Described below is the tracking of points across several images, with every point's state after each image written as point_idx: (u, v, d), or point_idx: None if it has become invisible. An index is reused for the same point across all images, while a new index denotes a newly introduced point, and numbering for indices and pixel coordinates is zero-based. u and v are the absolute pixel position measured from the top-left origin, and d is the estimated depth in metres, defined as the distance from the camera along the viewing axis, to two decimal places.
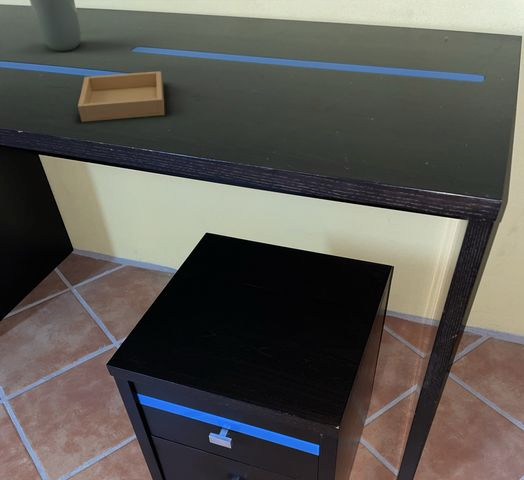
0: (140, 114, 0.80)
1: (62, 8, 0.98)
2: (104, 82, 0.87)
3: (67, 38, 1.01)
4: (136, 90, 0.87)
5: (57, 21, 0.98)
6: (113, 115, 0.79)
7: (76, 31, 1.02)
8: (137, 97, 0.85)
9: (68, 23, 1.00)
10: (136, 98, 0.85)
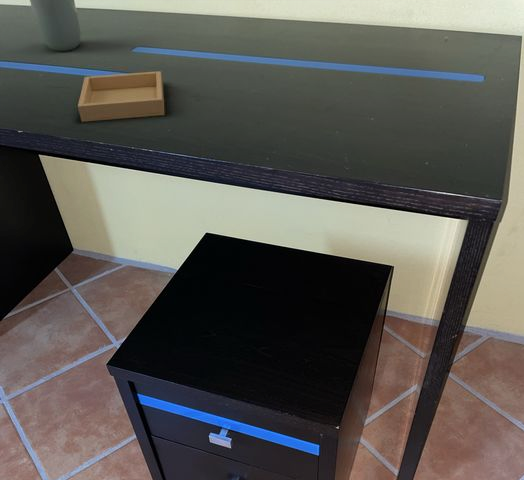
0: (140, 114, 0.80)
1: (62, 8, 0.98)
2: (104, 82, 0.87)
3: (67, 38, 1.01)
4: (136, 90, 0.87)
5: (57, 21, 0.98)
6: (113, 115, 0.79)
7: (76, 31, 1.02)
8: (137, 97, 0.85)
9: (68, 23, 1.00)
10: (136, 98, 0.85)
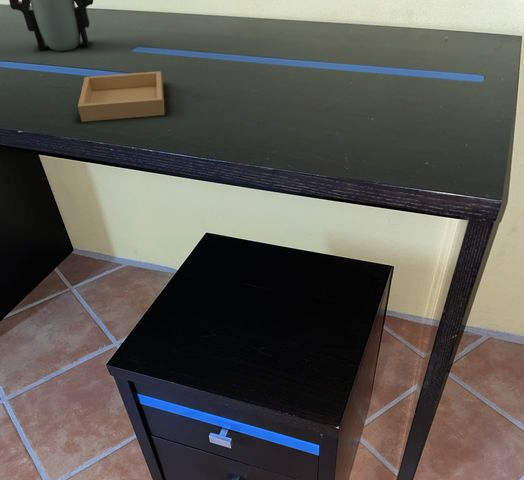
0: (140, 114, 0.80)
1: (62, 8, 0.98)
2: (104, 82, 0.87)
3: (67, 37, 1.01)
4: (136, 90, 0.87)
5: (57, 21, 0.98)
6: (113, 115, 0.79)
7: (76, 31, 1.02)
8: (137, 97, 0.85)
9: (68, 23, 1.00)
10: (136, 98, 0.85)
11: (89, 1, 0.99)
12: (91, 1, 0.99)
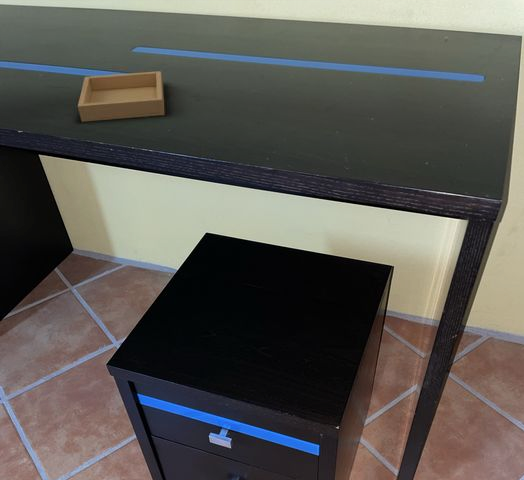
0: (140, 114, 0.80)
1: None
2: (104, 82, 0.87)
3: None
4: (136, 90, 0.87)
5: None
6: (113, 115, 0.79)
7: None
8: (137, 97, 0.85)
9: None
10: (136, 98, 0.85)
11: None
12: None
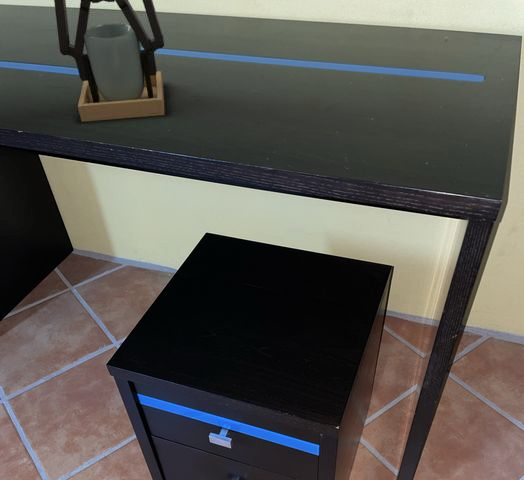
0: (140, 114, 0.80)
1: (126, 54, 0.76)
2: None
3: (130, 89, 0.80)
4: None
5: (119, 70, 0.77)
6: (113, 115, 0.79)
7: (140, 81, 0.81)
8: None
9: (132, 72, 0.79)
10: None
11: (159, 44, 0.78)
12: (162, 44, 0.78)
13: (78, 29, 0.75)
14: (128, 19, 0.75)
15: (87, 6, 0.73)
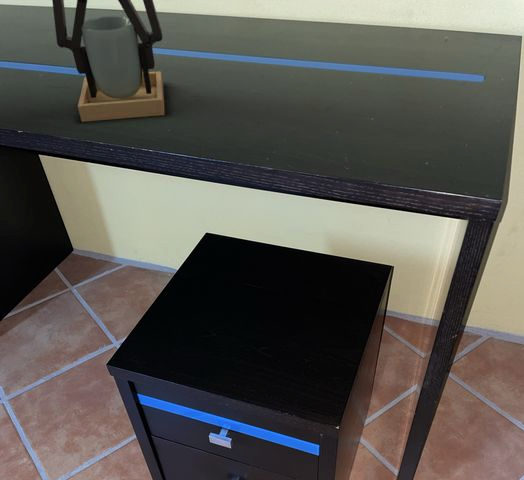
0: (140, 114, 0.80)
1: (124, 47, 0.76)
2: None
3: (128, 82, 0.79)
4: None
5: (117, 63, 0.77)
6: (113, 115, 0.79)
7: (138, 74, 0.80)
8: (137, 97, 0.85)
9: (130, 65, 0.78)
10: (136, 98, 0.85)
11: (158, 37, 0.77)
12: (160, 37, 0.77)
13: (75, 21, 0.74)
14: (126, 11, 0.74)
15: None
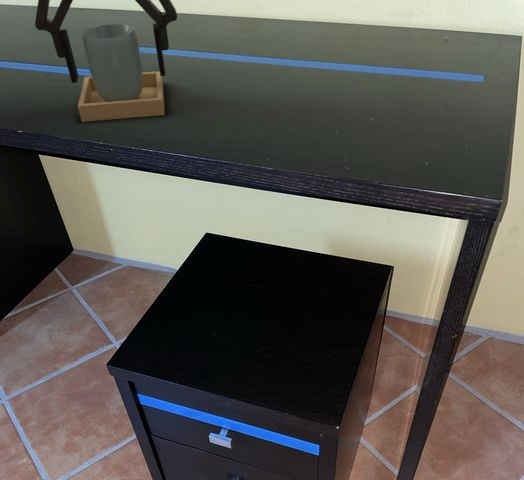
0: (140, 114, 0.80)
1: (125, 54, 0.76)
2: None
3: (129, 89, 0.80)
4: None
5: (118, 70, 0.77)
6: (113, 115, 0.79)
7: (139, 81, 0.81)
8: None
9: (131, 72, 0.79)
10: None
11: (172, 17, 0.76)
12: (175, 16, 0.76)
13: (61, 5, 0.73)
14: None
15: None
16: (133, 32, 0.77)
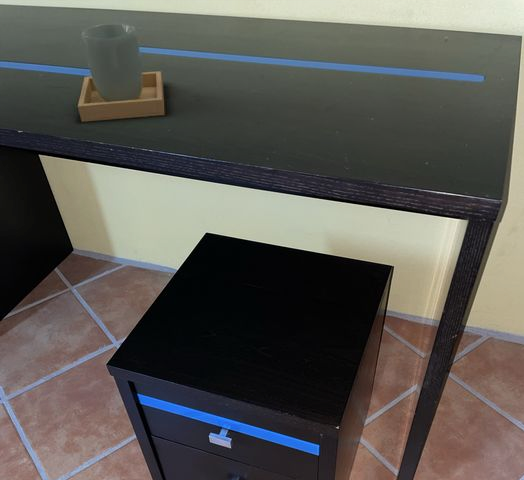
0: (140, 114, 0.80)
1: (125, 54, 0.76)
2: None
3: (129, 89, 0.80)
4: None
5: (118, 70, 0.77)
6: (113, 115, 0.79)
7: (139, 81, 0.81)
8: None
9: (131, 72, 0.79)
10: None
11: None
12: None
13: None
14: None
15: None
16: (133, 32, 0.77)
